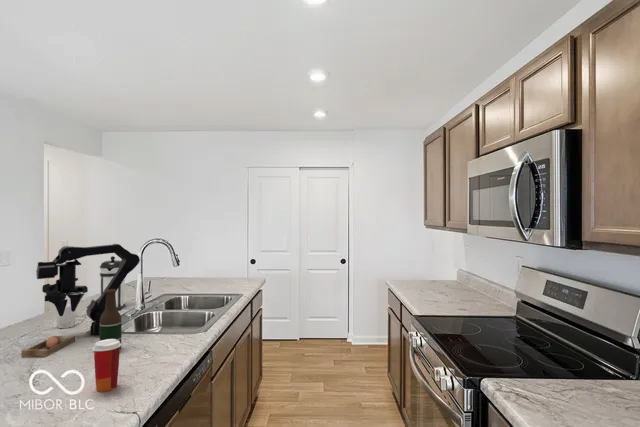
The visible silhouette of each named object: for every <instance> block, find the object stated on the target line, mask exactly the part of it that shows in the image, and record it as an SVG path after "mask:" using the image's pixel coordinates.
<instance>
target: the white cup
mask: <svg viewBox="0 0 640 427" xmlns="http://www.w3.org/2000/svg"><path fill="white" fill-rule="evenodd" d="M76 314H77V308H76V309H75V311H74V312H72V311H71V303H67V304H66V307H65V311H64V314H63V316H59V313H58V311H57V310H56V322H57V328H58V329H60V328H64V329H69V327H70V328H73V327H75V326H76V317H77V315H76Z"/></svg>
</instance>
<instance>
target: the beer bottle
mask: <svg viewBox="0 0 640 427" xmlns="http://www.w3.org/2000/svg"><path fill="white" fill-rule="evenodd" d="M115 293H116V290H115V289H108V290H106V306H105V311H104V312H103V313H102V315H101V318H100V334H99V336H98V337H99V338H98V339H99V341H102V340H106V339H117V340H119V341H120V343H121V344H122V324H123V323H122V322H123V321H122V315H121V314H120V311H118V309H117V308H116V295H115ZM120 350H122V345H121V346H120Z"/></svg>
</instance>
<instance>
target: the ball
mask: <svg viewBox="0 0 640 427" xmlns="http://www.w3.org/2000/svg"><path fill="white" fill-rule="evenodd" d="M50 337H51V338H50ZM50 337H48V339H46V340H47V341H46V340H45V341H46V346H47V347H49V348H52V347H54V346H56V345H58V339H57V338H55V337H52V336H50Z"/></svg>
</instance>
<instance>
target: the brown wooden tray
mask: <svg viewBox="0 0 640 427" xmlns="http://www.w3.org/2000/svg"><path fill="white" fill-rule="evenodd" d="M47 340H48V339H46V340H43V341H42V342H39V343H37V344H35V345H34V346H33V345H32V346H30V347H29V348H27V349H22V350H21V351H20V352H21V354H20V356H21V358H47V357H49V356H50V355H53V354H54V353H56V352H58V351H59V350H62V349H63V348H65V347H68V346H70V345H71V344H73V343H75V342H76V336H72V337H69V339H68V340H66V341H64V342H62V343H60V344H58V345H56V346H54V347H52V348H49V347H47V346H46V341H47Z"/></svg>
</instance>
